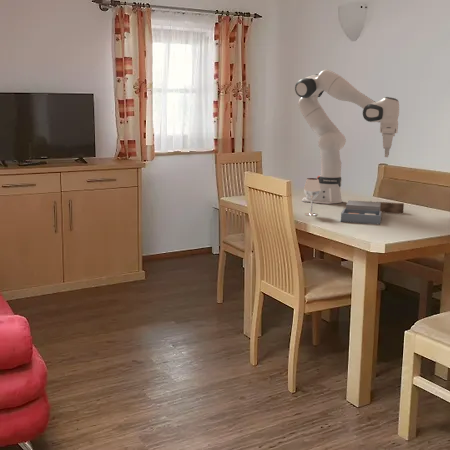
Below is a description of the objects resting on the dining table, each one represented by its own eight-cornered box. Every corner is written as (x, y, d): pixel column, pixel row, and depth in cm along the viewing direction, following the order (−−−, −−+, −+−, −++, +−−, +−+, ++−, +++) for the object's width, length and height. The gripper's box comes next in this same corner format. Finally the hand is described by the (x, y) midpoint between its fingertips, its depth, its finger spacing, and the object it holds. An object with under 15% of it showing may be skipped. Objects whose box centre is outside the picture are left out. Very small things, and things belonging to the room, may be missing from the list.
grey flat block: (345, 216, 301) (346, 204, 299) (348, 211, 314) (348, 200, 312) (378, 218, 296) (379, 206, 295) (380, 213, 309) (380, 202, 308)
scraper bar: (374, 212, 315) (375, 202, 314) (375, 211, 318) (375, 201, 317) (403, 213, 311) (403, 204, 310) (403, 212, 314) (403, 203, 313)
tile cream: (365, 213, 294) (364, 218, 294) (364, 215, 289) (363, 220, 290) (375, 213, 292) (375, 219, 293) (374, 215, 288) (374, 220, 288)
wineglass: (301, 212, 309) (303, 177, 305) (318, 213, 309) (319, 177, 306) (304, 216, 301) (305, 179, 297) (320, 216, 301) (322, 180, 298)
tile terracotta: (348, 212, 294) (348, 217, 295) (347, 214, 290) (347, 219, 290) (359, 213, 293) (358, 218, 294) (358, 215, 288) (358, 220, 289)
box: (340, 221, 289) (341, 213, 288) (343, 216, 301) (343, 208, 300) (379, 224, 284) (380, 215, 283) (380, 219, 296) (381, 211, 295)
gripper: (383, 128, 324) (381, 154, 327) (381, 130, 305) (379, 157, 308) (395, 128, 322) (393, 154, 325) (394, 130, 303) (392, 158, 306)
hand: (386, 156), depth 316 cm, fingers open, 8 cm apart
